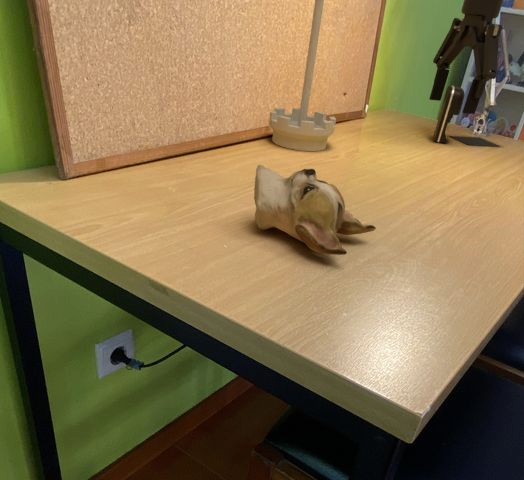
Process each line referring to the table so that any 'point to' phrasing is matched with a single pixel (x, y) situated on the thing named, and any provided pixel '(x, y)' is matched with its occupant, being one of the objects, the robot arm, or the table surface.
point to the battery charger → (448, 111)
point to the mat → (474, 141)
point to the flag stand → (304, 107)
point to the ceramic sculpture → (304, 209)
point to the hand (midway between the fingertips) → (450, 106)
